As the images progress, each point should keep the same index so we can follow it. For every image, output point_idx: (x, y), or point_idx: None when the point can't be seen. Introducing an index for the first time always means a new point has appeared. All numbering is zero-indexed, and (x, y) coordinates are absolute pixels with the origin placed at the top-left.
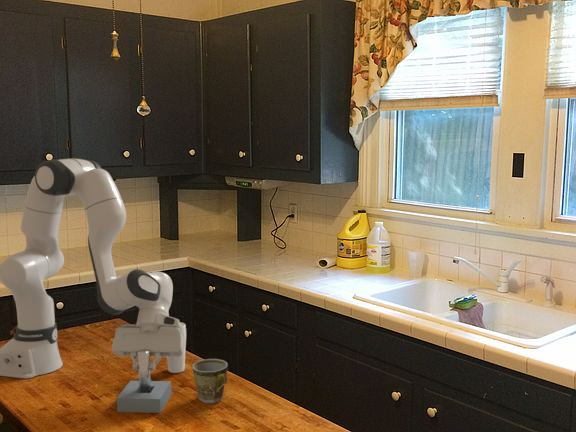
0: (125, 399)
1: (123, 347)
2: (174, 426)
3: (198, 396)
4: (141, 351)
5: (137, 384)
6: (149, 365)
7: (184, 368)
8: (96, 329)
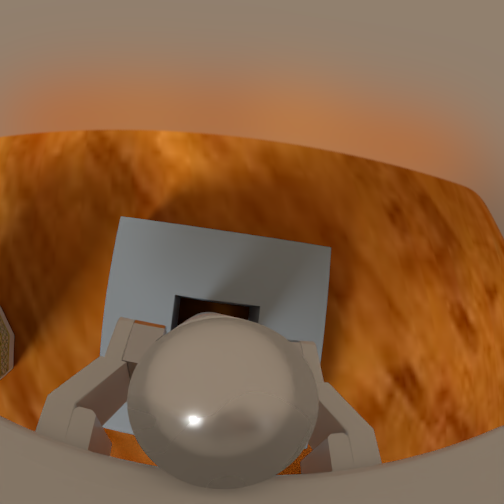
0: (289, 242)
1: (471, 468)
2: (92, 135)
3: (8, 333)
4: (255, 399)
5: None
6: (156, 337)
7: None
8: None
